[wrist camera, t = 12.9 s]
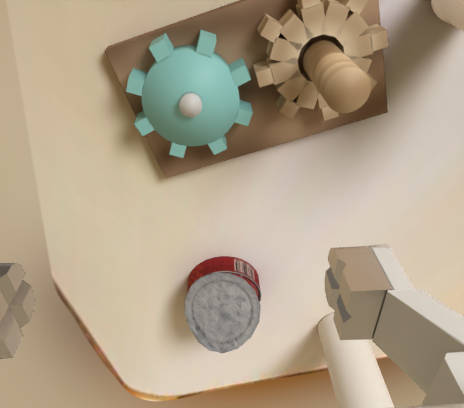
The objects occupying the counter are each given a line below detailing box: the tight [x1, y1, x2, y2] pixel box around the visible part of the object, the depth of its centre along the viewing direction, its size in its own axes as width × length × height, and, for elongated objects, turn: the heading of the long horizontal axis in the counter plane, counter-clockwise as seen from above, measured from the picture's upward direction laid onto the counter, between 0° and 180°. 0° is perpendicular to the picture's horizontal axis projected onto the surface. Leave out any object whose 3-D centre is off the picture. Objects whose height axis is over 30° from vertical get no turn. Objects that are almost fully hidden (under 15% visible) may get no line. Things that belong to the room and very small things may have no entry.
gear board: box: [105, 0, 388, 178], centre depth 38 cm, size 14×24×4 cm, turn 107°
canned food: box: [185, 256, 261, 353], centre depth 53 cm, size 11×10×10 cm
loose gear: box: [253, 0, 388, 121], centre depth 32 cm, size 11×11×10 cm
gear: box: [126, 30, 253, 158], centre depth 37 cm, size 11×11×4 cm
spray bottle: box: [318, 313, 394, 408], centre depth 52 cm, size 7×7×25 cm
